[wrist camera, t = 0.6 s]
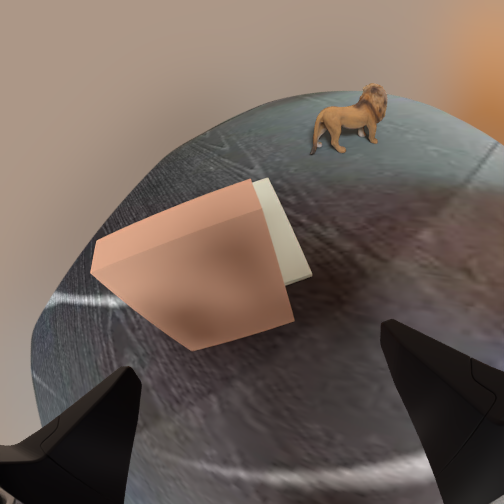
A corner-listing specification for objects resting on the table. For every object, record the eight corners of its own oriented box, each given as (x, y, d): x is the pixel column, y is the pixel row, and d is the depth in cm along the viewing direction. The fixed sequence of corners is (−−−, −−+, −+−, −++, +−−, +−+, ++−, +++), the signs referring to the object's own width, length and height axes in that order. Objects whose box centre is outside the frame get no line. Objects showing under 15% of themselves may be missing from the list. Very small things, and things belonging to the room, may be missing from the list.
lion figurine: (372, 124, 39) (371, 77, 32) (394, 138, 36) (396, 87, 29) (302, 150, 39) (292, 97, 32) (321, 166, 35) (314, 108, 28)
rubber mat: (312, 276, 26) (312, 273, 25) (161, 324, 27) (159, 322, 26) (268, 180, 36) (268, 177, 35) (160, 220, 37) (158, 217, 36)
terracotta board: (294, 321, 24) (262, 208, 13) (191, 351, 24) (90, 272, 13) (286, 297, 25) (250, 178, 14) (188, 328, 26) (96, 240, 15)
